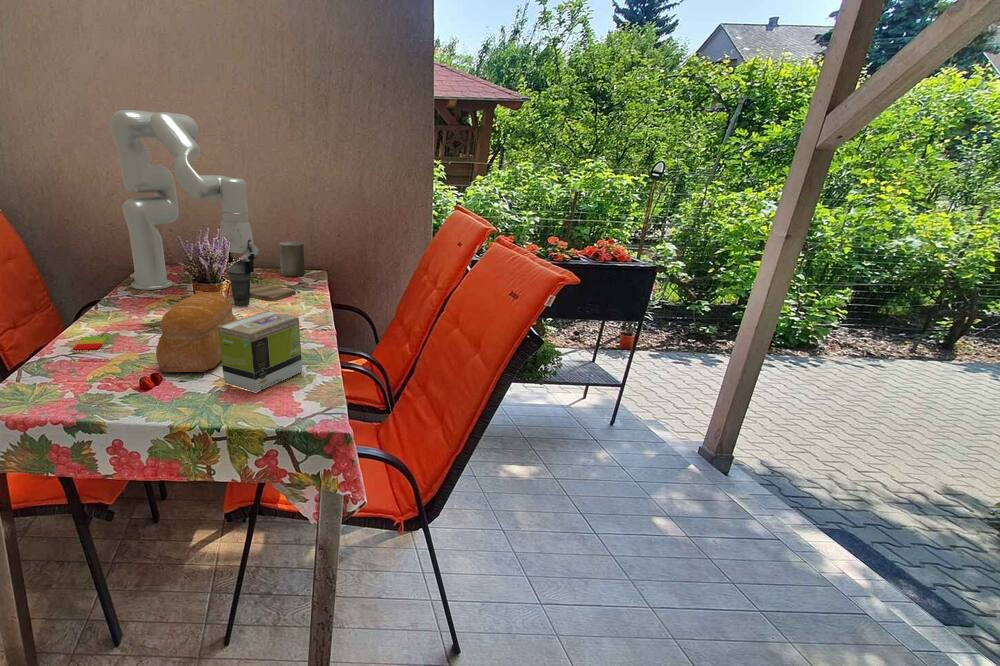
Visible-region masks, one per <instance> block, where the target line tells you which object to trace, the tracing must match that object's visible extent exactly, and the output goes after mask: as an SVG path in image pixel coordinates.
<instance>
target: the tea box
mask: <svg viewBox="0 0 1000 666" xmlns="http://www.w3.org/2000/svg"><path fill="white" fill-rule="evenodd" d="M218 332H219V341H220V350H221V359H222V360H221V365H222V366H221V367H222V376H223V383H224V382H225V383H228V384H231V385H235V386H238V387H241V388H244V389H247V390H250V391H254V392H257V391H259V390H262V389H264V388H266V387H269V386H271V385H273V384H275V383H278V382H280V381H282V380H284V381H286V380H288V379H290V378H292V376H293V377H294V375H295V376H297V375H299V374H301V373H303V362H302V361H303V360H302V345H301V333H300V318H299V317H298V316H293V315H289V314H283V313H278V312H275V311H269V310H267V311H263V312H259V313H257V314H254V315H250V316H248V317H244V318H241V319H237V321H234V322H230V323H227V324H224V325H221V326H218ZM300 372H301V373H300ZM298 373H299V374H298ZM296 374H297V375H296ZM289 377H290V378H289ZM287 378H288V379H287ZM285 379H286V380H285ZM282 382H283V381H282ZM280 383H281V382H280ZM278 384H279V383H278ZM275 385H276V384H275ZM273 386H274V385H273ZM271 387H272V386H271ZM269 388H270V387H269Z"/></svg>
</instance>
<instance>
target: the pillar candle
mask: <svg viewBox="0 0 1000 666" xmlns="http://www.w3.org/2000/svg"><path fill="white" fill-rule="evenodd" d="M278 248H279V261H280V263H279V264H280V265H279V266H280V275H281V276H282V275H284V276H283V277H285V276H291V277H290V278H293V277H292V276H301V277H303V276H302V275H304V274H305V275H306V269H305V253H304V252H305V247H304V242H301V241H293V240H292V239H291V241H281V242H279V246H278ZM305 275H304V276H305Z"/></svg>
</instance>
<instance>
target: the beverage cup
mask: <svg viewBox="0 0 1000 666" xmlns="http://www.w3.org/2000/svg"><path fill="white" fill-rule="evenodd" d="M234 254H235V253H234ZM237 260H240V261H238V262H236V263H235V264H233V265H232V266H231V267H230V268H228V270H227V275H228V279H229V282H230V288H231V293H232V298H233V303H234V307H237V306H239V308H244V307H243V306H246V307H249V306H250V302H251V301H250V300H251V297H250V285H251V277H252V273H248V274H247V273H245V261H246V260H243V259H239V258H238V254H235V260H234V259H233V262H234V261H237ZM248 305H249V306H248Z"/></svg>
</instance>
